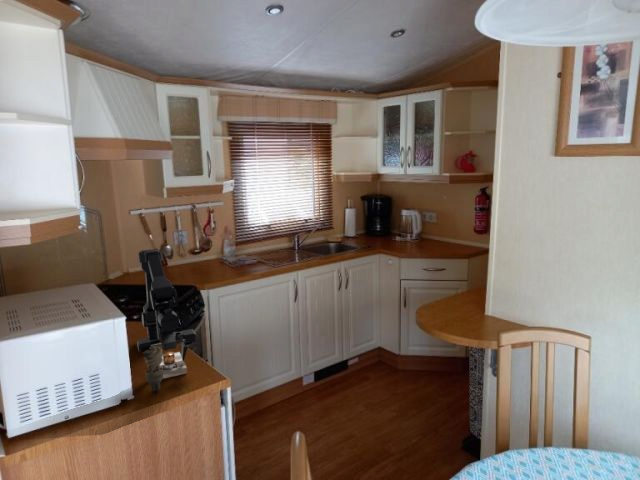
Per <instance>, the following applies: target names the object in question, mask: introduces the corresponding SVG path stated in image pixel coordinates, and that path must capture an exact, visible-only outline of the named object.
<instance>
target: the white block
mask: <svg viewBox="0 0 640 480" xmlns="http://www.w3.org/2000/svg"><path fill="white" fill-rule="evenodd" d="M174 355H175V363H174V365H175V368H173V369H169V370H165V364H164V363H163V356H162V362H161V364H160V367H161V368H162V369H163V379H167V378H173V377H176V376H180V375H185V374H188V367H187V365H186V363H185V360H184V361H182V353H181V352H180V351H177V352H174ZM163 379H162V380H163Z"/></svg>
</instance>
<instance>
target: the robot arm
mask: <svg viewBox="0 0 640 480" xmlns="http://www.w3.org/2000/svg"><path fill="white" fill-rule="evenodd" d="M137 261H138V264H139V265H140V268H141V269H142V271H144V274H145V276H144V277H145V290H146V302H145V304H144V305H143V307H142V308H143V312H141V322H142V325H143V328H146V331H147V333H146V334H147V336H146V337H142V338H138V339H137V341H136V344H137V349H138V353H140V354H143V353H144V352H145V351H146V350H150V349H149V348H150V347H151V346H159V345H161V349H162V351H168V350H173V349H174V350H175V349H177V348H178V347H179V346H178V345H179V344H181V356H182V361H184V362H185V358H186V354H187V351H188V349H189V346H191V345H193V344H194V343H195V342H197V334H196V332H195V330H194V329H192V328H190V329H185V330H181V331H176V329H177V328H178V327H179V324H180V319H179V317H178V315H177V313H176V312H175V311H174V310H175V309H174V308H175V307H179V306H178V303H179V297H178V293H177V289H176V288H175V286H173V285H172V283H171V280H170V279H168V278H166V275H165V271H164V268H163V265H162V261H164V256H163V250H159V249H158V248H152V249H143V250H140V251H139V252H138V253H137Z"/></svg>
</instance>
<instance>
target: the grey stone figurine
mask: <svg viewBox="0 0 640 480" xmlns="http://www.w3.org/2000/svg"><path fill="white" fill-rule="evenodd" d="M149 349H150V350H146V351H145V352H144V353H142V354H143V355H144V357H143V359H144V360H145V361H144V363H145V364H146V368H147V370H145V380H146V382H147V383H148V384H149V385H150V390H151V391H152V392H158V390H161V382H162V380H163V369H162V368H161V367H160V364H161V362H162V356H163V354H164V353H163V349H162V347H160V346H159V345H155V346H151V347H150V348H149Z"/></svg>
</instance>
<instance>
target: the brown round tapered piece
mask: <svg viewBox="0 0 640 480" xmlns="http://www.w3.org/2000/svg"><path fill="white" fill-rule="evenodd" d="M174 353H175V352H174V351H166V352H164V353H162V354H163V363H164V364H165V370H169V369H173V368H176V367H175V365H174V363H175V355H174Z"/></svg>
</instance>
